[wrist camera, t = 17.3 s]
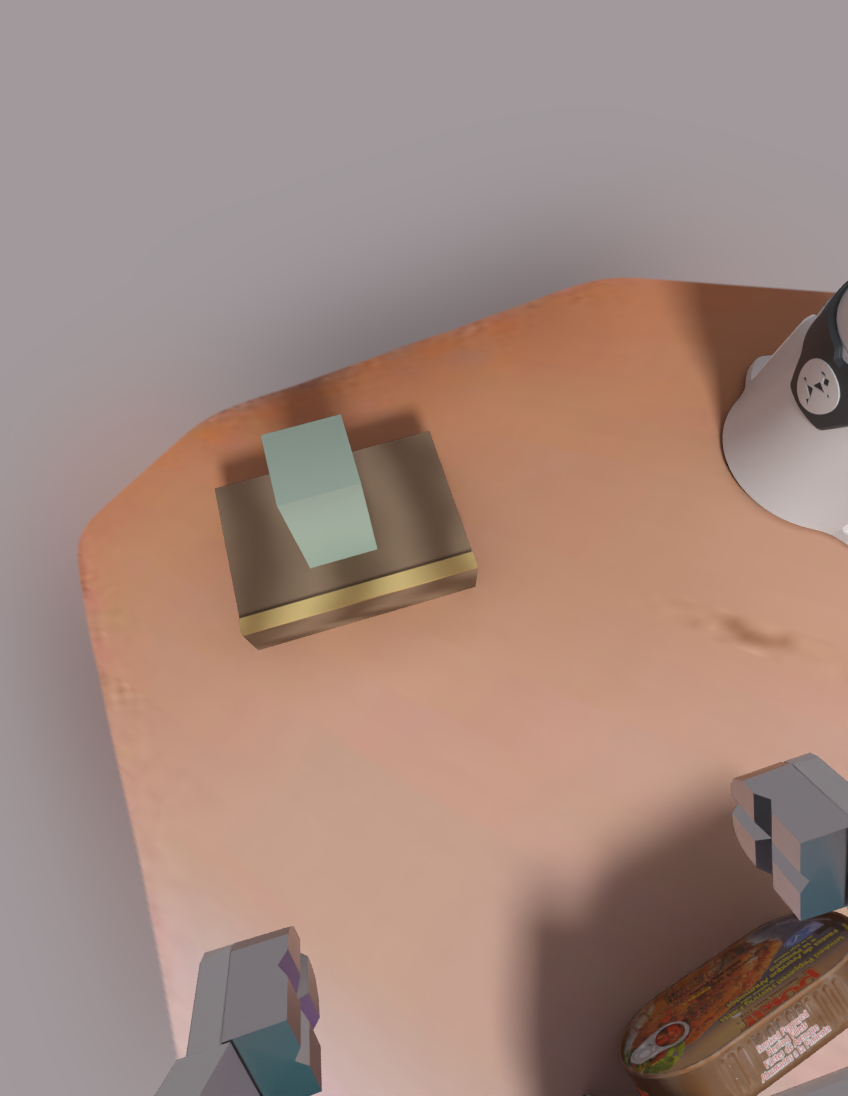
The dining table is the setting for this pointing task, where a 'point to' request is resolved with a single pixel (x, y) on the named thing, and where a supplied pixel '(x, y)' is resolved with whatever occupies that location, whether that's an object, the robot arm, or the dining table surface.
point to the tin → (744, 1013)
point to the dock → (355, 582)
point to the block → (319, 490)
